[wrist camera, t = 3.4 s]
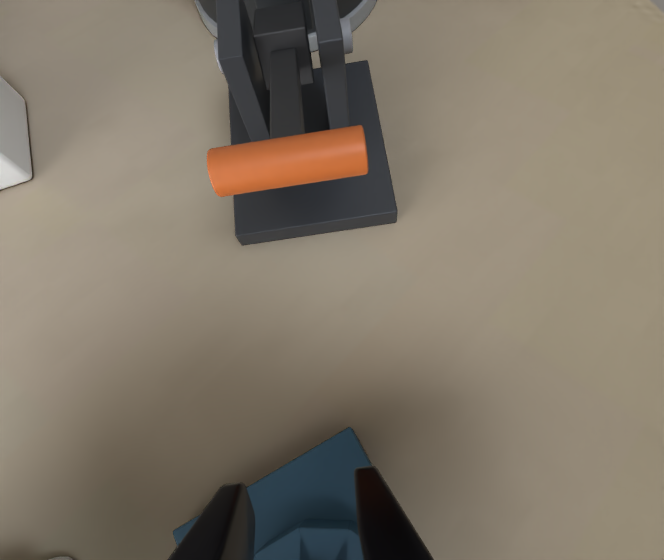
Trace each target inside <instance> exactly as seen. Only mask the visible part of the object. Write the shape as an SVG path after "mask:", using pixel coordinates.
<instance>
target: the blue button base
mask: <svg viewBox="0 0 664 560" xmlns="http://www.w3.org/2000/svg"><path fill="white" fill-rule="evenodd" d="M365 466H372V464H371V462H370V460H369V458H368V457H367V455H366V453H365V451H364V449H363V447H362V445H361V444H360V442H359V440H358V438H357V436H356V434H355V432H354V431H353V429H352V428H351V427H348V428H347V429H345V430H343V431H341V432H340V433H338V434H336V435H335V436H333V437H331V438H330V439H328V440H326V441H324V442H323V443H321V444H319V445H318V446H316V447H314V448H313V449H311V450H309V451H307V452H306V453H304V454H302V455H301V456H299V457H297V458H296V459H294V460H292V461H290V462H289V463H287V464H285V465H284V466H282V467H280V468H279V469H277V470H275V471H274V472H272V473H270V474H268V475H267V476H265V477H263V478H262V479H260V480H258V481H257V482H255V483H253V484H251V485H250V486H248V487H246V488H247V490H248V494H249V497H250V500H251V503H252V506H253V509H254V513H255V544H254V560H363V556H362V550H361V545H360V540H359V534H358V526H357V514H356V499H355V484H354V470H355V469H356V468H357V467H365ZM199 516H200V515H199ZM199 516H197V517H195V518H194V519H192V520H190V521H189V522H187V523H185V524H184V525H182V526H180V527H178V528H177V529H175V530H174V531H173V535H174V538H175V541H176V544H177V546H178V545H179V543H180V542H181V541H182V539H183V538H184V536H185V535H186V534H187V532H188V531H189V530H190V528H191V527H192V525H193V524H194V523H195V521H196V520H197V519H198V517H199Z"/></svg>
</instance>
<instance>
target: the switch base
mask: <svg viewBox="0 0 664 560" xmlns="http://www.w3.org/2000/svg"><path fill="white" fill-rule="evenodd" d="M312 7H313V14H314V21H315V28H316V35H317V42H318V50H319V57H320V64H321V68H316V69H313V75H314V83H310V84H304V85H301V93H302V105H303V117H304V129H305V134H306V133H312V132H319V131H325V130H331V129H338V128H344V127H350V126H357V125H362V127H363V130H364V134H365V140H366V147H367V156H368V174H366V175H360V176H354V177H347V178H341V179H334V180H328V181H321V182H315V183H308V184H302V185H295V186H289V187H282V188H276V189H269V190H263V191H256V192H250V193H243V194H237V195H234V216H235V236H236V237H237V239H238V240H239V242H240V243H241V245H248V244H255V243H261V242H268V241H275V240H281V239H288V238H295V237H302V236H308V235H315V234H322V233H328V232H335V231H342V230H349V229H355V228H362V227H369V226H375V225H382V224H389V223H395V222H396V220H397V206H396V201H395V196H394V191H393V186H392V181H391V176H390V171H389V166H388V161H387V156H386V151H385V146H384V140H383V135H382V130H381V125H380V120H379V115H378V110H377V105H376V100H375V95H374V90H373V85H372V80H371V75H370V70H369V64H368V61H367V60H365V61H359V62H353V63H347V64H345V55H344V54H348V53H352V52H353V42H352V32H351V25H350V20H349V18H348V17H346V18H340V17H339V12H338V6H337V0H312ZM216 14H217V39H216V40H214V50H215V56H216V60H217V63H218V66H219V69H220V71H221V72H222V74H224V75H225V78H226V80H227V83H228V88H229V109H230V131H231V145H237V144H243V143H249V142H256V141H262V140H268V139H270V90H267V89H266V87H265V83H264V79H263V75H262V71H261V67H260V63H259V59H258V55H257V51H256V47H255V43H254V39H253V29H252V26H251V23H250V19H249V16H248V12H247V9H246V6H245V2H244V0H216Z"/></svg>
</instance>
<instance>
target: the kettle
mask: <svg viewBox="0 0 664 560" xmlns="http://www.w3.org/2000/svg"><path fill="white" fill-rule="evenodd" d="M376 1H377V0H337V6H338V12H339V17H340V18H346V17H348V18H349V20H350V25H351V32H352V31H354V30H355V29H356V28H357V27H358V26H359V25H360V24H361V23H362V22H363V21H364V20H365V19H366V18H367V16H368V15H369V14H370V12H371V10H372V9H373V7H374V6H375V3H376ZM244 2H245V6H246V9H247V12H248V16H249V19H250V23H251V26H252V29H253V30H254V13H255V10H256V9H260V8H266V7H272V6H278V5H284V4H290V3H296V2H302V3H303V7H304V13H305V19H306V26H307V32H308V39H309V45H310V51H311V52H313V51H316V50H318V42H317V35H316V28H315V21H314V14H313V7H312V0H244ZM195 3H196V6H197V9H198V11H199V13H200V16H201V18H202V20H203V22H204V24H205V26H206V27H207V29H208V30H209V31H210V32H211V33H212V34H213V35H214V36H215V37H216V38H217V14H216V0H195Z"/></svg>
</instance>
